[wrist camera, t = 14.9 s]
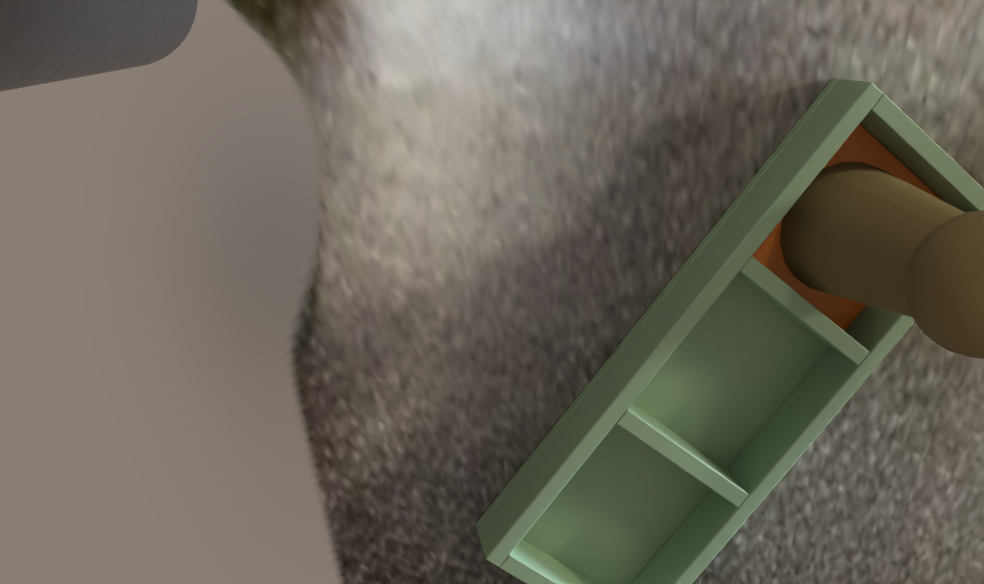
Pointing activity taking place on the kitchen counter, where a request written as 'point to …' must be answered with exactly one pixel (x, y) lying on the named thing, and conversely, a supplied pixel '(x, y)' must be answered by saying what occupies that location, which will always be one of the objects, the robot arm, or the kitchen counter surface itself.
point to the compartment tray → (715, 377)
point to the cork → (891, 251)
